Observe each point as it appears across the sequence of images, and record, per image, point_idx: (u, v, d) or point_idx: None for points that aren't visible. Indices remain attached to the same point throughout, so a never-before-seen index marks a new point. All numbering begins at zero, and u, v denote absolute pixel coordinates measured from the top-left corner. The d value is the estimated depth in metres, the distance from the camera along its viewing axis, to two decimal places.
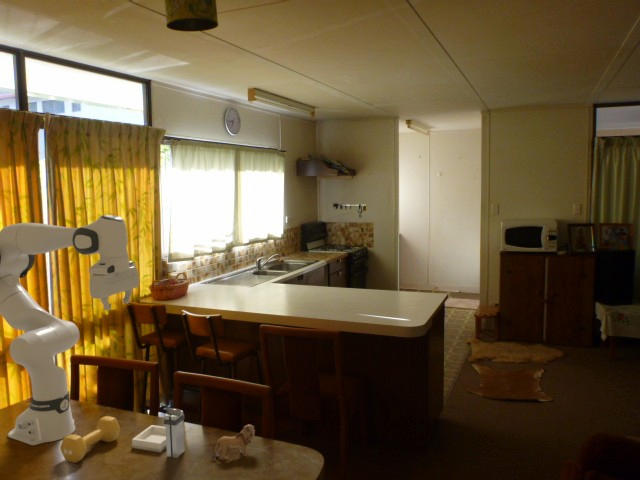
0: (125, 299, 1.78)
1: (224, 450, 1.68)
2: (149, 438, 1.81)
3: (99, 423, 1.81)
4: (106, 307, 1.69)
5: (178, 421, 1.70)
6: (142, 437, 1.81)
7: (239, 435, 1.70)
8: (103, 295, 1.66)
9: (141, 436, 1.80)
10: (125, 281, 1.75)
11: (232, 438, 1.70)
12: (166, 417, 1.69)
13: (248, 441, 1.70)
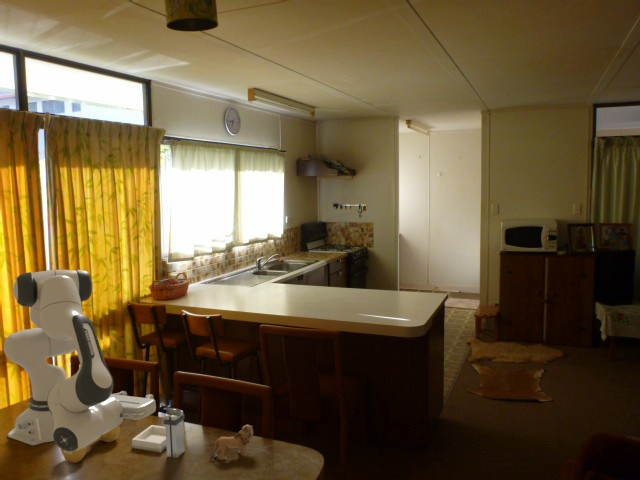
0: None
1: (222, 450, 1.68)
2: (149, 438, 1.81)
3: None
4: None
5: (178, 421, 1.70)
6: (142, 437, 1.81)
7: (237, 435, 1.70)
8: None
9: (141, 436, 1.80)
10: None
11: (230, 438, 1.69)
12: (166, 417, 1.69)
13: (246, 441, 1.70)
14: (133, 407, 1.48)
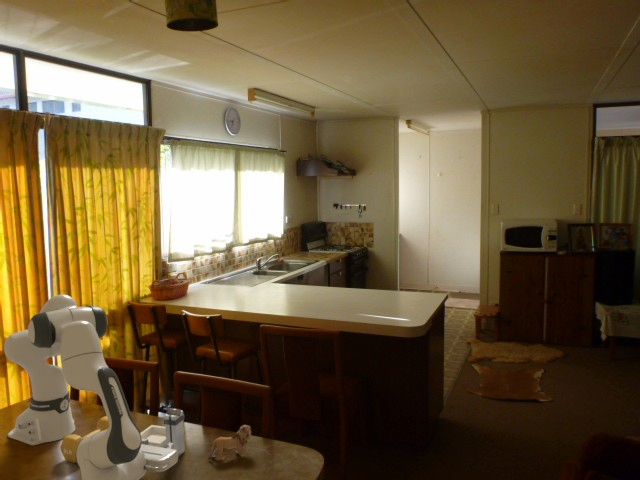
0: None
1: (220, 451, 1.68)
2: (149, 438, 1.81)
3: (99, 423, 1.81)
4: None
5: (178, 421, 1.70)
6: (142, 437, 1.81)
7: (235, 436, 1.70)
8: None
9: (141, 436, 1.80)
10: None
11: (228, 439, 1.69)
12: (166, 417, 1.69)
13: (244, 442, 1.70)
14: (156, 459, 1.51)
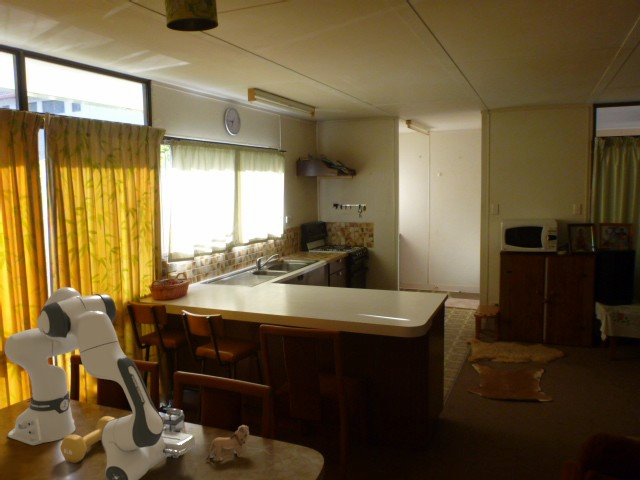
0: None
1: (218, 451, 1.68)
2: None
3: (99, 423, 1.81)
4: None
5: (178, 421, 1.70)
6: None
7: (233, 436, 1.70)
8: None
9: None
10: None
11: (226, 439, 1.69)
12: (166, 417, 1.69)
13: (243, 442, 1.70)
14: (175, 443, 1.59)
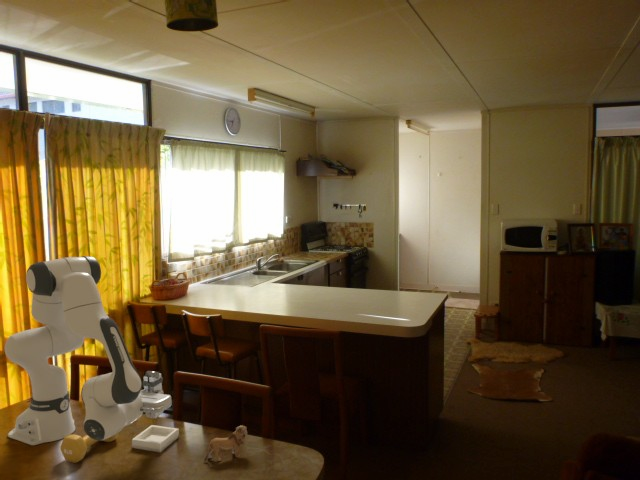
0: None
1: (217, 452, 1.67)
2: (149, 438, 1.81)
3: None
4: None
5: (156, 383, 1.77)
6: (142, 437, 1.81)
7: (232, 436, 1.69)
8: None
9: (141, 436, 1.80)
10: None
11: (225, 439, 1.69)
12: (145, 379, 1.76)
13: (241, 442, 1.70)
14: (152, 402, 1.66)
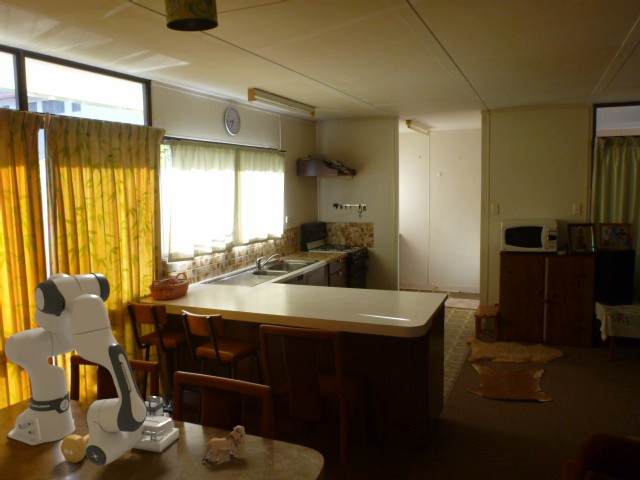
0: None
1: (214, 452, 1.67)
2: None
3: None
4: None
5: (157, 408, 1.78)
6: None
7: (229, 437, 1.69)
8: None
9: None
10: None
11: (222, 440, 1.69)
12: (146, 404, 1.77)
13: (239, 442, 1.69)
14: (153, 425, 1.67)
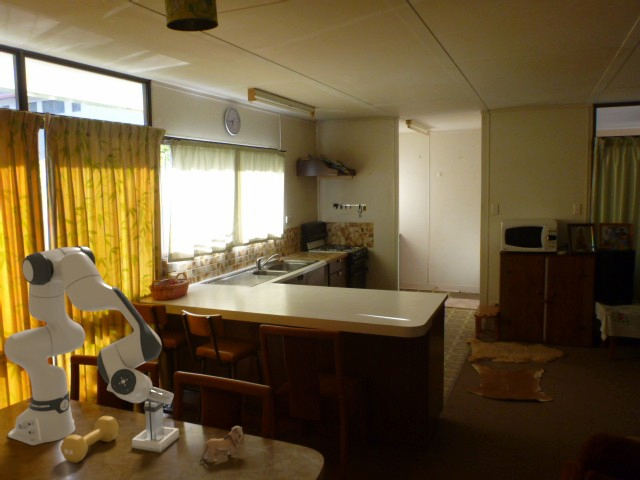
0: None
1: (212, 452, 1.67)
2: None
3: (98, 423, 1.81)
4: None
5: (157, 408, 1.78)
6: (142, 437, 1.81)
7: (227, 437, 1.69)
8: None
9: (141, 436, 1.80)
10: None
11: (220, 440, 1.68)
12: (146, 404, 1.77)
13: (236, 443, 1.69)
14: None
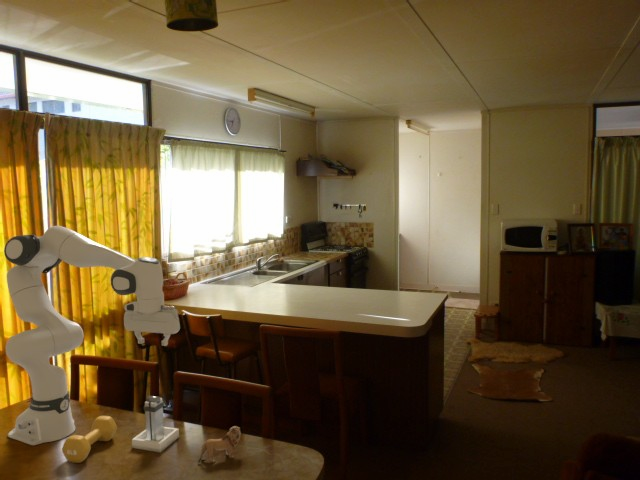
0: None
1: (210, 453, 1.67)
2: None
3: (95, 423, 1.81)
4: None
5: (157, 408, 1.78)
6: (142, 437, 1.81)
7: (225, 437, 1.69)
8: (128, 328, 1.82)
9: (141, 436, 1.80)
10: (155, 323, 1.78)
11: (218, 440, 1.68)
12: (146, 404, 1.77)
13: (235, 443, 1.69)
14: None
